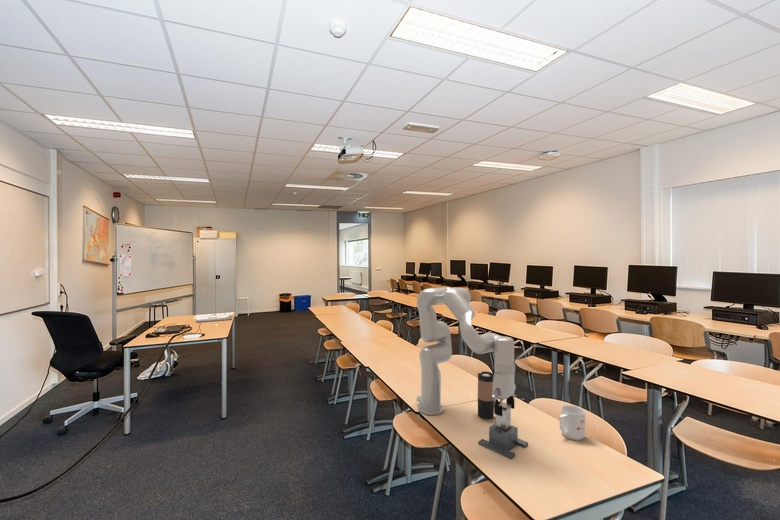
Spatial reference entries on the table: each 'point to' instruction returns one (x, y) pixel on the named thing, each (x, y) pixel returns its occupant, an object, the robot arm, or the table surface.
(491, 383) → the travel mug
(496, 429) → the stand
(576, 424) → the mug
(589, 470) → the table surface
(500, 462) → the table surface
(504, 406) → the column
